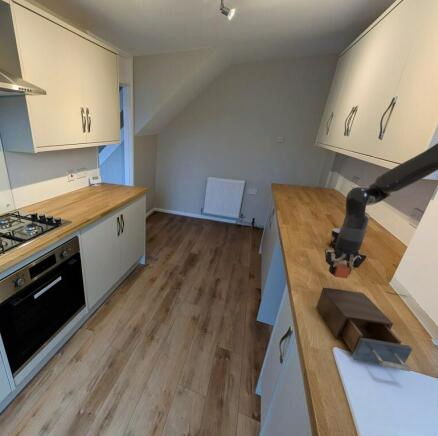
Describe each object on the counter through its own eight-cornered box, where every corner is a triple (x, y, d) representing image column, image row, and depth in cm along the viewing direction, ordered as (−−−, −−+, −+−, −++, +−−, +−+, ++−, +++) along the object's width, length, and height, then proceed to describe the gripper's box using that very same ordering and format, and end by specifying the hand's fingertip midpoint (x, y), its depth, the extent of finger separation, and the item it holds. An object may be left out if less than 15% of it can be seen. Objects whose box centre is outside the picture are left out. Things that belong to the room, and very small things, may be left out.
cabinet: (382, 346, 73) (393, 323, 70) (336, 338, 75) (344, 316, 72) (355, 313, 86) (363, 292, 83) (316, 307, 89) (322, 287, 86)
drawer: (415, 385, 61) (427, 365, 58) (364, 375, 63) (373, 355, 60) (370, 331, 77) (378, 313, 75) (331, 324, 80) (337, 307, 77)
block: (341, 272, 100) (344, 263, 99) (347, 278, 96) (350, 269, 94) (329, 271, 101) (332, 262, 99) (334, 277, 97) (337, 267, 95)
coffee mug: (327, 242, 141) (332, 227, 138) (345, 246, 137) (351, 230, 133) (327, 249, 132) (332, 233, 129) (347, 254, 128) (352, 237, 124)
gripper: (334, 238, 91) (323, 277, 96) (378, 242, 88) (363, 281, 93) (325, 231, 97) (315, 267, 103) (366, 234, 94) (353, 271, 100)
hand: (338, 274), depth 98 cm, fingers closed on block, 4 cm apart
